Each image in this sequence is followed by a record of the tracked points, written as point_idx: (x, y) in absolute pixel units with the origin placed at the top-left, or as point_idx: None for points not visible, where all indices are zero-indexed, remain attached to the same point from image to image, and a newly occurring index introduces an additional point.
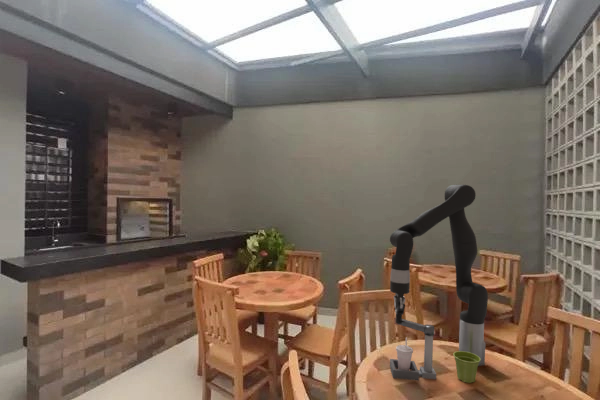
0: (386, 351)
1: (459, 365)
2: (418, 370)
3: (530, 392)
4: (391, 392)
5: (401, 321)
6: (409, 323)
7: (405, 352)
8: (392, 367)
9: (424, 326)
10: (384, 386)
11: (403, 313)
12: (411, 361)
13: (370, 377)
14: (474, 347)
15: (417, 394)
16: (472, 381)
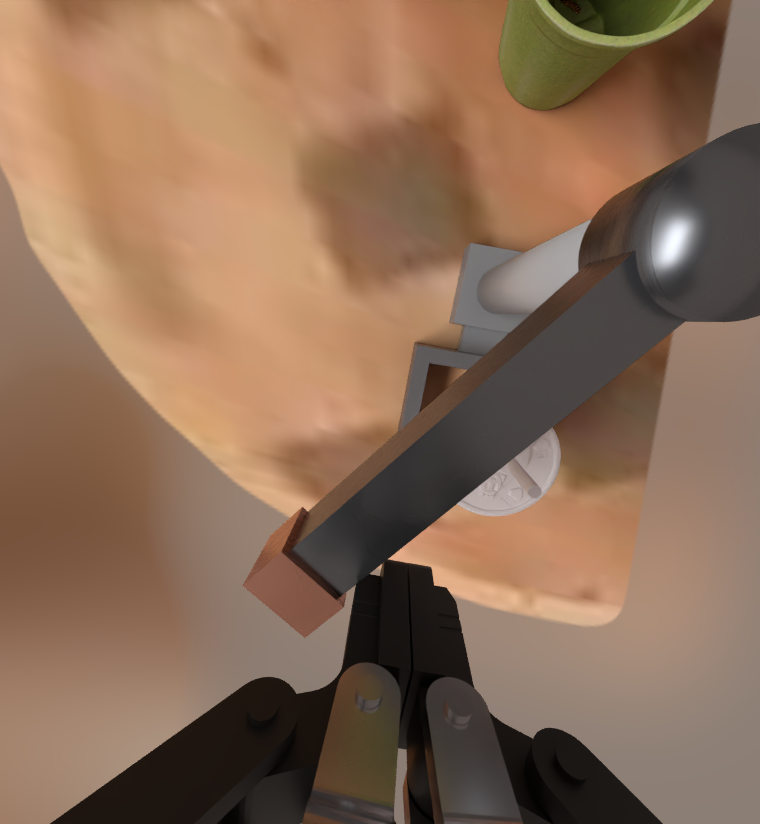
0: (220, 427)
1: (622, 55)
2: (467, 336)
3: None
4: (623, 519)
5: (434, 587)
6: (470, 483)
7: (553, 471)
8: None
9: (704, 321)
10: (574, 533)
11: (583, 757)
12: (424, 364)
13: (495, 569)
14: None
15: (657, 416)
16: (608, 26)
